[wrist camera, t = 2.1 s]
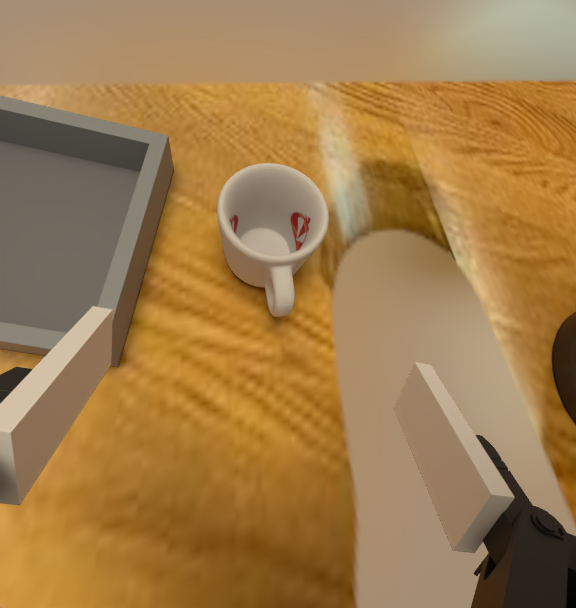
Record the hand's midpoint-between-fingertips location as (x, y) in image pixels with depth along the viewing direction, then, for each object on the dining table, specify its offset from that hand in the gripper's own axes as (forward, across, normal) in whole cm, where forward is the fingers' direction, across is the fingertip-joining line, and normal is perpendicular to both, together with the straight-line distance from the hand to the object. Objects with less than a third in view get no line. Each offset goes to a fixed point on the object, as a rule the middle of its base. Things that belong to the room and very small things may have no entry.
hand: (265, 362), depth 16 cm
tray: (+17, -19, -4) cm, 26 cm away
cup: (+18, 0, -3) cm, 18 cm away
